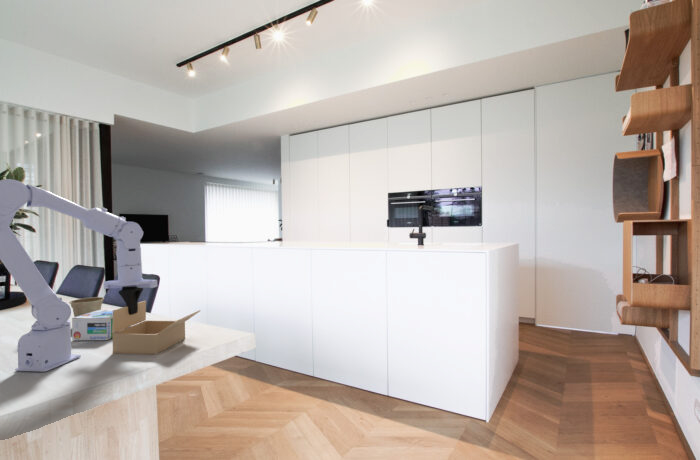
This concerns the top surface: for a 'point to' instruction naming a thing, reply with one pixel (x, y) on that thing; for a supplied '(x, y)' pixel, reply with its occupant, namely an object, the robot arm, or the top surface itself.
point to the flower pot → (86, 305)
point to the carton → (147, 337)
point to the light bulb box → (93, 326)
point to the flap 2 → (178, 322)
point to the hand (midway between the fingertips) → (132, 313)
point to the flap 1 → (128, 317)
